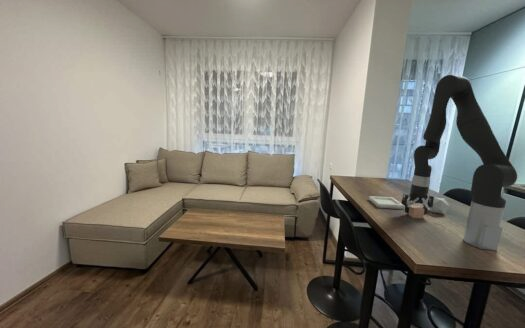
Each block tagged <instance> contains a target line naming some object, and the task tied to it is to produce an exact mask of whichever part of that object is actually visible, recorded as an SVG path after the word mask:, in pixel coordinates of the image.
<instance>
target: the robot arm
mask: <svg viewBox="0 0 525 328" xmlns="http://www.w3.org/2000/svg"><path fill="white" fill-rule="evenodd" d="M450 99H451V100H452V102H453V103H454V105H455V107H456V110H457V111H456V112H457V113H456V114H457V115H456V128H457V130H458V133H459V134H460V136H461V139H462V140H463V141H464V142H465V143H466V145H468V146H469V147H470V148H471V149H472V150H473V151H474V152H475V153H476V154H477V155H478V156H479V158H480V160H481V163H482V164H481V165H479V166H478V167H477V168H476V169H475V171H474V173H473V176H472V182H471V189H470V195H471V203H470V207H469V212H468V216H467V220H466V225H465V230H464V235H463V241H464V242H465V243H467V244H468V245H470V246H473V247H475V248H478V249H479V250H485V251H486V250H490V251H498V249H499V248H498V247H499V243H500V240H501V236H502V233H503V227H502V226H501V224H502V220H503V217H504V212H505V207H506V204H507V200H506V199H505V198H504V197H502V191H503V188H507V187H510V186H512V185H515V183H516V182H517V180H518V172H517V171H516V168H515V166H514V165H513V164H512V162H510V159H509V158H508V157H507V156H506V154H505V153H504V150H503V149H502V148H501V145H500V144H499V141H498V140H497V137H496V136H495V133H494V132H493V130H492V128H491V126H490V123H489V122H488V120H487V117H486V116H485V113H484V112H483V111H482V108H481V106H480V105H479V102H478V101H477V98H476V96H475V93H474V89H473V87H472V83H471V81H470V80H469V78H467V77H465V76H463V75H455V74H448V75H444V76H442V77H441V78H440V79H439V80H438V82H437V84H436V87H435V91H434V96H433V101H432V106H431V112H430V116H429V120H428V122H427V125H426V127H425V131H424V133H423V136H422V138H423V140H425V143H424V145H419V146H417V147H416V148H415V150H414V152H413V162H414V172H413V175H412V178H411V179H412V180H411V186H410V191H409V192H410V193H409V194H407V193H403V195H402V199H401V202H400V203H401V204H403V205H404V209H403V210H404V213H405V214H407V215H408V214H409V209H410V206H411V205H412V206H413V205H415V204H422V208H423V209H425V210H424V216H426V215H427V214H428V210H429V209H430V208H429V207H433V200H434V196H433V195H431V194H429V190H430V186H431V185H430V184H431V175H432V171H433V170H432V169H433V167H432V165H430V164H429V160H433V159H434V158H436V157H437V156H438V155H439V152H440V149H441V148H440V147H441V138H442V137H443V135H444V132H445V129H446V126H447V107H448V105H449V104H448V103H449V101H450Z"/></svg>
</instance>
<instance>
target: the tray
mask: <svg viewBox="0 0 525 328" xmlns="http://www.w3.org/2000/svg"><path fill="white" fill-rule="evenodd" d="M368 201H370V202H371V203H372V204H373V205H374V206H376V208H378V209H392V210H405V206H404V205H403V204H401V203H402V202H400V201H399V200H397V199H396V198H395V197H392V196H374V195H373V196H372V195H370V196H368Z"/></svg>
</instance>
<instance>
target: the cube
mask: <svg viewBox="0 0 525 328" xmlns="http://www.w3.org/2000/svg"><path fill="white" fill-rule="evenodd" d="M424 210H425V209H423V207H421V206H419V205H413V204H412V205H411V206H410V209H409V214H407V215H408V216H410V217H411V218H412V219H424V216H425V215H424Z"/></svg>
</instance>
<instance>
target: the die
mask: <svg viewBox="0 0 525 328" xmlns="http://www.w3.org/2000/svg"><path fill="white" fill-rule="evenodd" d="M433 197H434V196H433ZM449 208H450V205H449V203H448V202H447V201H446V199H445V198H442V197H436V196H435V197H434V200H433V207H429V208H428V209H429V210H430V211H431V213H434V214H439V215H440V214H441V215H444V214H445V213H446V212H447V211H448V209H449Z"/></svg>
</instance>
